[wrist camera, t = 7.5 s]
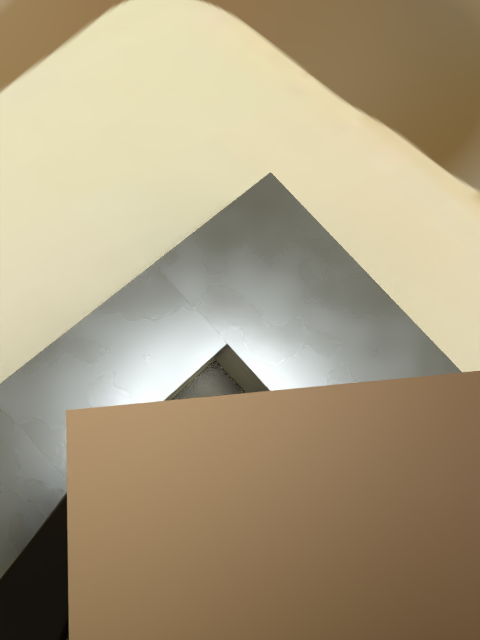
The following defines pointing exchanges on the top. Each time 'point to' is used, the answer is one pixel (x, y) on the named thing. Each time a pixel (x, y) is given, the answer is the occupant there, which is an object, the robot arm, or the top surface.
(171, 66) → the top surface
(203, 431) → the walnut block
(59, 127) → the top surface
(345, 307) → the hole plate
